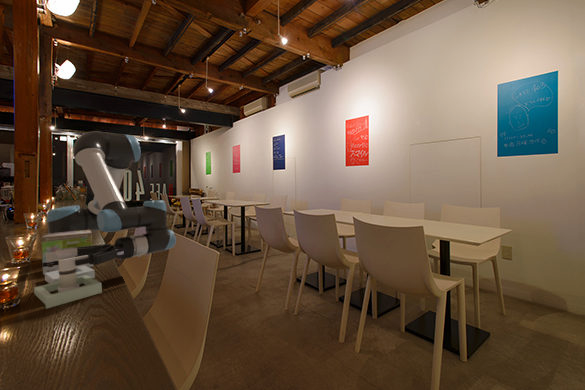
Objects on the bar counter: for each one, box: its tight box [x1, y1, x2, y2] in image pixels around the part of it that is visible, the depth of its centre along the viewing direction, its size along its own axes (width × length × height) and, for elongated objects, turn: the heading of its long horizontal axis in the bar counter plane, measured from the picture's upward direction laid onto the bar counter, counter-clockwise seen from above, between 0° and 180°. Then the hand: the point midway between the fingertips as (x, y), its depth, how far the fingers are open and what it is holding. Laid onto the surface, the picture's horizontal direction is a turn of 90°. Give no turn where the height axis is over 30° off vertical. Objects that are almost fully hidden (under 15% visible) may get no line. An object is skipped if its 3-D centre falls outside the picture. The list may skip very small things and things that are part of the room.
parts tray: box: [33, 275, 103, 310], centre depth 83 cm, size 13×13×3 cm
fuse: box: [56, 248, 80, 293], centre depth 83 cm, size 5×5×13 cm
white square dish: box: [44, 265, 96, 284], centre depth 95 cm, size 11×11×4 cm
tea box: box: [41, 230, 94, 276], centre depth 108 cm, size 15×10×15 cm, turn 129°
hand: (52, 261), depth 80 cm, fingers open, 13 cm apart
